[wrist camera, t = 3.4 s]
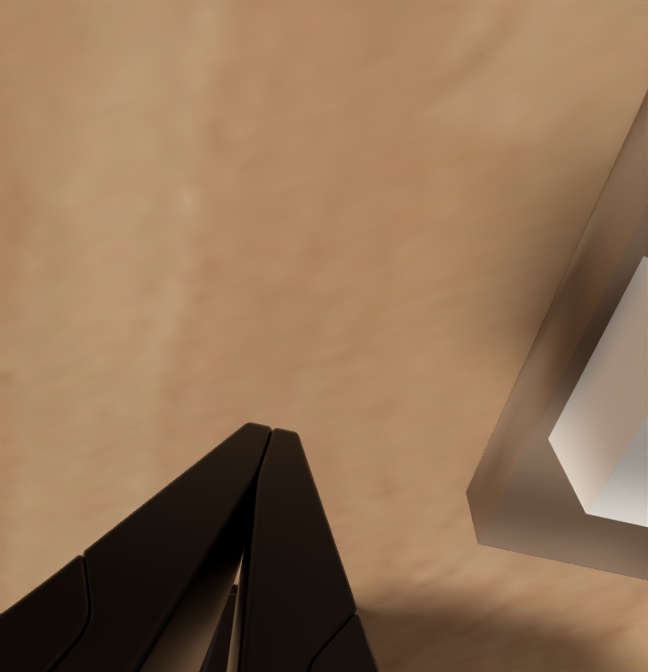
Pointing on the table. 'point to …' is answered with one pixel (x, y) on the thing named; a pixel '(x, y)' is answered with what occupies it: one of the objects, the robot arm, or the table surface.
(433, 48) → the table surface
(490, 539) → the brown wooden board
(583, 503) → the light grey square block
